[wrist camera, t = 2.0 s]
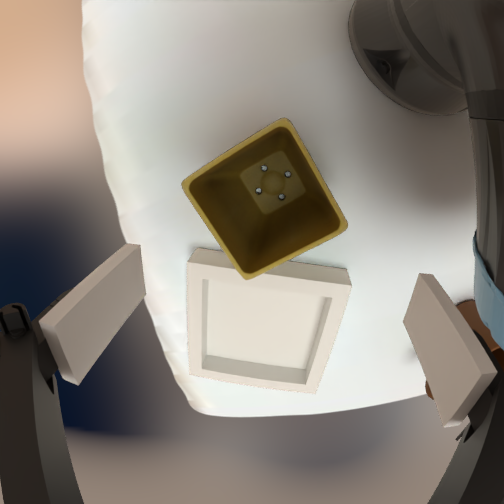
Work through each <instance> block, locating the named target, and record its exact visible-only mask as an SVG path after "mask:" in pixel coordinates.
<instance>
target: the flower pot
mask: <svg viewBox="0 0 504 504" xmlns="http://www.w3.org/2000/svg"><path fill="white" fill-rule="evenodd" d="M263 165H265V166H267V170H266V171H263V170H262V169H261V167H262V166H263ZM287 171H288V172H290V173H291V175H290V177H286V176H285V172H287ZM181 185H182V189H183V191H184V192H185V194H186V196H187V197H188V199H189V200H190V202H191V203H192V205H193V206H194V208H195V209H196V211H197V212H198V214H199V215H200V217H201V218H202V220H203V221H204V223H205V224H206V226H207V227H208V229H209V230H210V232H211V233H212V235H213V236H214V238H215V239H216V240H217V242H218V243H219V245H220V247H221V248H222V250H223V251H224V253H225V254H226V255H227V257H228V258H229V260H230V262H231V263H232V265H233V266H234V268H235V269H236V270H237V272H238V273H239V274H240V275H241V276H242V278H244V279H245V280H250V279H253V278H255V277H257V276H259V275H261V274H263V273H265V272H267V271H269V270H271V269H273V268H274V267H277V266H279V265H281V264H282V263H284V262H286V261H288V260H290V259H292V258H294V257H296V256H298V255H300V254H302V253H304V252H306V251H308V250H310V249H312V248H314V247H316V246H318V245H320V244H322V243H324V242H326V241H328V240H330V239H332V238H334V237H336V236H338V235H339V234H341V233H343V232H344V231H345V230H346V229H347V228H348V223H347V220H346V219H345V217H344V215H343V213H342V211H341V209H340V208H339V206H338V204H337V202H336V201H335V199H334V197H333V195H332V193H331V192H330V190H329V188H328V187H327V185H326V183H325V181H324V179H323V178H322V176H321V174H320V172H319V170H318V169H317V167H316V165H315V163H314V161H313V159H312V158H311V156H310V154H309V152H308V150H307V149H306V147H305V145H304V144H303V142H302V140H301V138H300V137H299V135H298V133H297V131H296V130H295V128H294V126H293V124H292V123H291V122H290V120H288V119H287V118H281V119H279V120H277V121H275V122H273V123H272V124H270V125H269V126H267V127H265V128H264V129H262V130H260V131H259V132H257V133H255V134H254V135H252V136H251V137H249V138H247V139H246V140H244V141H243V142H241V143H239V144H238V145H236V146H234V147H233V148H231V149H230V150H228V151H226V152H225V153H223V154H222V155H220V156H219V157H217V158H216V159H214V160H213V161H211V162H210V163H208V164H206V165H205V166H203V167H202V168H200V169H199V170H197V171H196V172H194V173H193V174H191V175H190V176H188V177H187V178H186V179H184V180H183V182H182V183H181ZM257 188H260V189H261V191H262V192H261V193H260V194H258V193H256V189H257ZM280 194H283V195H284V196H285V198H284V199H283V200H281V199H279V195H280Z"/></svg>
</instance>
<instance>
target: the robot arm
mask: <svg viewBox="0 0 504 504" xmlns="http://www.w3.org/2000/svg"><path fill="white" fill-rule="evenodd" d="M349 37H350V42H351V45H352V49H353V51H354V54H355V56H356V58H357V60H358V62H359V64H360V66H361V67H362V69H363V71H364V72H365V74H366V75H367V76H368V78H369V79H370V80H371V81H372V82H373V83H374V85H375V86H376V87H377V88H378V89H379V90H381V91H382V92H383V93H384V94H385V95H386V96H388V97H389V98H390V99H392V100H393V101H395V102H396V103H398V104H400V105H401V106H403V107H405V108H407V109H410V110H412V111H415V112H419V113H422V114H428V115H451V114H456V113H460V112H463V111H465V110H467V109H468V112H469V121H470V128H471V135H472V143H473V152H474V162H475V175H476V196H477V229H476V231H475V235H474V237H473V251H474V256H475V274H474V297H475V303H476V306H477V310H478V313H479V315H480V318H481V320H482V321H483V323H484V324H485V326H486V327H488V328H489V329H490V331H491V335H492V338H493V339H494V340H495V342H496V343H497V344H498V345H499V346H500V347H501V348H502V349H503V350H504V0H356V1H355V3H354V5H353V7H352V9H351V13H350V17H349ZM145 295H146V290H145V282H144V274H143V266H142V257H141V248H140V245H137V244H125V245H124V246H123V247H122V248H120V250H118V251H117V252H116V253H114V254H113V255H112V256H111V257H110V258H108V259H107V260H106V261H105V262H104V263H102V264H101V265H100V266H99V267H98V268H97V269H95V270H94V271H93V272H92V273H91V274H90V275H89V276H87V277H86V278H85V279H84V280H83V281H82V282H81V283H79V284H78V285H77V286H76V287H75V288H72V289H70V290H68V291H66V292H64V293H62V294H61V295H60V296H59V297H58V298H57V299H56V301H53V302H52V303H51V304H50V306H48V307H47V308H46V309H45V310H44V311H43V312H42V313H41V314H39V315H38V316H37V317H36V318H35V319H34V320H33V321H32V322H31V321H30V318H29V316H28V314H27V310H26V308H25V306H24V305H23V304H20V303H12V304H9V305H6V306H5V307H3V308H1V310H0V329H1V331H2V332H0V479H1V487H2V494H3V500H4V504H84V502H83V499H82V496H81V493H80V490H79V487H78V484H77V481H76V477H75V473H74V470H73V467H72V463H71V459H70V454H69V451H68V446H67V442H66V437H65V432H64V427H63V422H62V416H61V410H60V404H59V397H58V389H57V382H56V378H55V376H54V373H55V372H56V370H57V369H59V371H60V373H61V375H62V377H63V379H64V380H67V381H69V382H72V383H74V384H77V385H79V384H80V382H81V381H82V379H83V378H84V377H85V375H86V374H87V372H88V371H89V370H90V368H91V367H92V365H93V364H94V363H95V361H96V360H97V358H98V357H99V356H100V354H101V353H102V352H103V350H104V349H105V347H106V346H107V345H108V343H109V342H110V341H111V339H112V338H113V337H114V335H115V334H116V333H117V331H118V330H119V329H120V327H121V326H122V325H123V324H124V322H125V321H126V320H127V318H128V317H129V316H130V314H131V313H132V312H133V310H134V309H135V308H136V307H137V305H138V304H139V303H140V301H141V300H142V299H143V298H144V296H145ZM403 323H404V325H405V327H406V330H407V332H408V334H409V337H410V339H411V341H412V344H413V346H414V349H415V351H416V353H417V356H418V358H419V361H420V363H421V366H422V368H423V371H424V374H425V376H426V379H427V382H428V384H429V387H430V390H431V392H432V395H433V398H434V401H435V404H436V407H437V410H438V412H439V416H440V419H441V422H442V425H443V427H444V428H445V427H451V426H457V425H460V424H461V422H462V421H463V420H464V419H465V417H466V416H467V415H468V417H469V419H470V423H469V424H468V425H467V426H466V427H465V429H464V430H463V431H462V432H461V434H460V435H459V436H458V437H457V438H456V440H457V441H458V439H460V437H462V438H461V440H460V442H459V445H458V447H457V449H456V451H455V453H454V456H453V458H452V460H451V462H450V464H449V466H448V468H447V470H446V472H445V474H444V476H443V477H442V479H441V481H440V483H439V485H438V487H437V488H436V490H435V492H434V494H433V495H432V497H431V499H430V500H429V502H428V504H504V371H503V369H502V368H501V366H500V364H499V363H498V361H497V359H496V358H495V356H494V354H492V351H491V350H490V348H489V347H488V345H487V343H486V342H485V340H484V339H483V337H482V336H481V335H480V334H479V333H477V332H476V331H475V330H474V329H471V328H470V326H469V325H468V323H467V322H466V320H465V319H464V317H463V316H462V314H461V313H460V311H459V310H458V309H457V307H456V306H455V304H454V303H453V302H452V300H451V299H450V297H449V296H448V295H447V293H446V292H445V290H444V289H443V288H442V286H441V285H440V284H439V282H438V281H437V280H436V278H435V277H434V276H433V275H432V274H422V273H419V275H418V279H417V282H416V285H415V288H414V291H413V294H412V297H411V300H410V303H409V306H408V309H407V312H406V315H405V317H404V320H403Z"/></svg>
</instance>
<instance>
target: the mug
mask: <svg viewBox="0 0 504 504" xmlns="http://www.w3.org/2000/svg"><path fill="white" fill-rule="evenodd" d="M456 307H457V309H458V310H459V311H460V313H461V314H462V316H463V317H464V319H465V320H466V322H467V323H468V325H469V326H470V328H471V329H474V330H475V331H476V332H477V333H479V334H480V335H481V336H482V337H483V339H484V340H485V342H486V343H487V345H488V347H489V348H490V350H491V351H492V354H494V356H495V358H496V359H497V361H498V363H499V364H500V366H501V368H502V369H503V371H504V350H503V349H502V348H501V347H500V346H499V345H498V344H497V343H496V342H495V340H494V339H493V338H492V335H491V331H490V329H489V328H488V327H486V326H485V324H484V323H483V321H482V320H481V318H480V315H479V313H478V310H477V306H476V303H475V301H467V302H464V303H461V304H459V305H458V306H456ZM425 388H426V393H427V395H428V396H429V397H430V398H432V399H433V400H434V398H433V395H432V392H431V390H430V387H429V384H428V382H427V379H426V384H425Z"/></svg>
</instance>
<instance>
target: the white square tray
mask: <svg viewBox="0 0 504 504" xmlns="http://www.w3.org/2000/svg"><path fill="white" fill-rule="evenodd" d="M351 288H352V284H351V281H350V278H349V275H348V272H347V269H341V268H334V267H327V266H320V265H313V264H306V263H299V262H292V261H286V262H284V263H282V264H281V265H279V266H277V267H274V268H273V269H271V270H269V271H267V272H265V273H263V274H261V275H259V276H257V277H255V278H253V279H250V280H245V279H244V278H242V276H241V275H240V274H239V273H238V272H237V270H236V269H235V268H234V266H233V265H232V263H231V262H230V260H229V258H228V257H227V255H226V254H225V253H224V252H223V251H216V250H209V249H202V248H197V249H196V250H195V251H194V253H193V254H192V256H191V257H190V258H189V260H188V261H187V323H188V354H189V375H194V376H198V377H203V378H208V379H213V380H218V381H224V382H229V383H235V384H241V385H247V386H254V387H261V388H268V389H275V390H283V391H292V392H302V393H313V394H316V391H317V388H318V386H319V383H320V381H321V378H322V375H323V373H324V370H325V367H326V365H327V362H328V359H329V356H330V354H331V351H332V348H333V345H334V342H335V339H336V336H337V333H338V330H339V327H340V324H341V321H342V318H343V315H344V311H345V308H346V305H347V302H348V298H349V295H350V292H351Z"/></svg>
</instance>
